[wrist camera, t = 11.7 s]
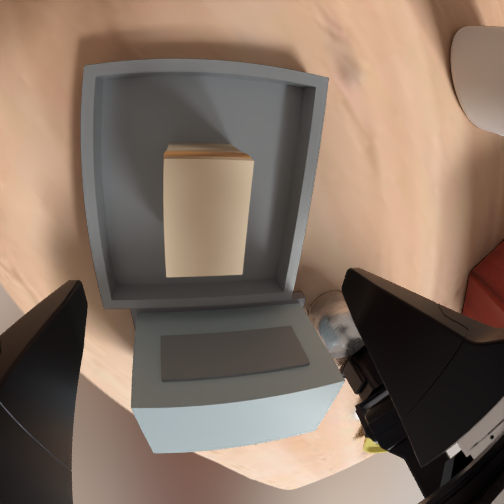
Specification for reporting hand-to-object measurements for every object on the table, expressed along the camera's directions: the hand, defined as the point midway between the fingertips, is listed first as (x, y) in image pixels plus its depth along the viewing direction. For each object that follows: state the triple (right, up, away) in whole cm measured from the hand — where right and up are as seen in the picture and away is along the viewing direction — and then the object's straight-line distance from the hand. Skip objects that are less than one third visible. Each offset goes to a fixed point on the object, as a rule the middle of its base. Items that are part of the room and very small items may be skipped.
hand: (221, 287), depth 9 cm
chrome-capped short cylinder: (+9, -5, +19) cm, 21 cm away
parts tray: (-3, +6, +10) cm, 12 cm away
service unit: (-2, -7, +17) cm, 19 cm away
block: (-3, +5, +10) cm, 11 cm away
